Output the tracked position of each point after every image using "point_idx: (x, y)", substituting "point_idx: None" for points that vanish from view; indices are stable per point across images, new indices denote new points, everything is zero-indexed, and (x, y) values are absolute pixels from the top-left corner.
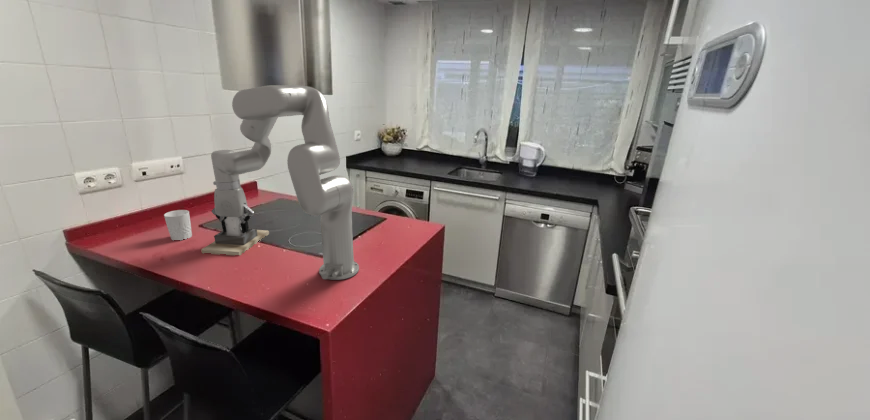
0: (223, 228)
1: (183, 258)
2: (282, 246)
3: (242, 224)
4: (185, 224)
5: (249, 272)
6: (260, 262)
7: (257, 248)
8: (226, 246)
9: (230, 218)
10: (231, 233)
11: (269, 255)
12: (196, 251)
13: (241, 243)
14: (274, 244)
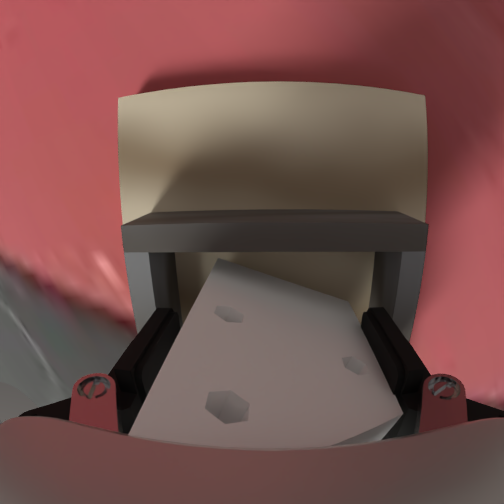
0: (386, 324)
1: (453, 40)
2: (14, 277)
3: (120, 362)
4: None
5: (25, 3)
6: (11, 84)
7: (94, 232)
8: (274, 164)
9: (270, 430)
10: (294, 303)
11: (6, 163)
12: (458, 131)
13: (164, 213)
14: (53, 298)
